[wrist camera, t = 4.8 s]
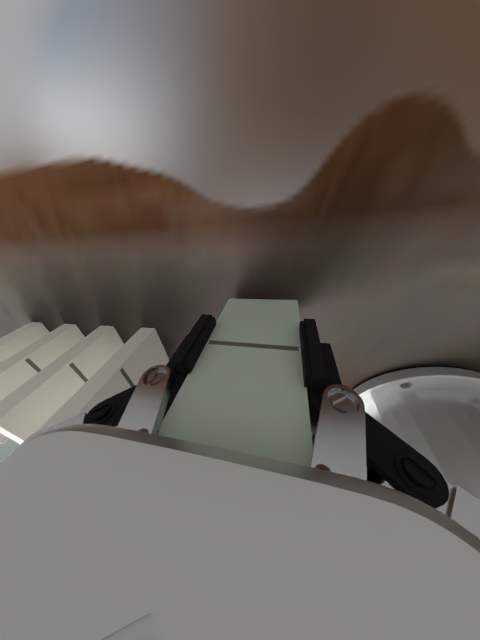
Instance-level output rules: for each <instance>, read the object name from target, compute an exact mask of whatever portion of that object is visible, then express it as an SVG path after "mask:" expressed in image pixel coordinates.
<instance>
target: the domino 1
mask: <svg viewBox="0 0 480 640" xmlns="http://www.w3.org/2000/svg"><path fill="white" fill-rule="evenodd" d="M48 333H50V332H49V331H48V330H47V329H46V327H45V326H44V325H43V324H42V323H41V322H30V323H28V324H26V325H24V326H23V327H21V328H19V329H17V330H15V331H13V332H11V333H9V334H7V335H6V336H4V337H2V338H0V363H1V362H3V361H5V360H6V359H8V358H10V357H11V356H13V355H14V354H16V353H18V352H19V351H21V350H22V349H24V348H26V347H27V346H29V345H31V344H32V343H34V342H35V341H37V340H39V339H40V338H42V337H43V336H45V335H47V334H48Z"/></svg>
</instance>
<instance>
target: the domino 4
mask: <svg viewBox="0 0 480 640" xmlns="http://www.w3.org/2000/svg"><path fill="white" fill-rule="evenodd" d="M168 362H169V358H168V356H167V354H166V351H165V349H164V347H163V345H162V342H161V340H160V338H159V336H158V333H157V331H156V329H155V328H142V327H141V328H140V329H139V330H138V331H137V332H136V333H135V334H134V335H133V336H132V337H131V338H130V339H129V340H128V341H127V342H126V343H125V344H124V345H123V346H122V347H121V348H120V349H119V350H118V351H117V352H116V353H115V354H114V355H113V356H112V357H111V358H110V359H109V360H108V361H107V362H106V363H105V364H104V365H103V366H102V367H101V368H100V369H99V370H98V371H97V372H96V373H95V374H94V375H93V376H92V377H91V378H90V379H89V380H88V381H87V382H86V383H85V384H84V385H83V386H82V387H81V388H80V389H79V390H78V391H77V392H76V393H75V394H74V395H73V396H72V397H71V398H70V399H69V400H68V401H67V402H65V403H64V404H63V405H62V406H61V407H60V408H59V409H58V410H57V411H56V412H55V413H54V414H53V415H52V416H51V417H50V418H49V419H48V420H47V421H46V422H45V423H44V424H43V425H42V426H41V427H40V428H39V429H38V430H37V431H36V432H38V431H40V430H42V429H45V428H47V427H50V426H52V425H55V424H57V423H60V422H62V421H65V420H67V419H69V418H72V417H74V416H77V415H79V414H82V413H84V412H86V413H88V412H89V411H90V410H91V409H92V408H93V407H94V406H95V405H97V404H98V403H100V402H102V401H104V400H106V399H108V398H110V397H112V396H114V395H116V394H118V393H120V392H122V391H125V390H127V389H129V388H131V387H133V386H135V385H137V384H138V382H139V380H140V377H141V376H142V374H143V373H144V372H145V371H146V370H148V369H149V368H151V367H153V366H156V365H167V363H168Z"/></svg>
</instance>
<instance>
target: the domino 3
mask: <svg viewBox="0 0 480 640" xmlns="http://www.w3.org/2000/svg"><path fill="white" fill-rule="evenodd" d="M123 345H124V343H123V341H122V340H121V338H120V336H119V335H118V333H117V331H116V330H115V328H114V327H113V326H99V327H98V328H97V329H95V330H94V331H93V332H91V333H90V334H89V335H87V336H86V337H85V338H83V339H82V340H81V341H79V342H78V343H77V344H76V345H74V346H73V347H72V348H70V349H69V350H68V351H66V352H65V353H64V354H62V355H61V356H60V357H58V358H57V359H56V360H54V361H53V362H52V363H50V364H49V365H48V366H46V367H45V368H44V369H42V370H41V371H40V372H38V373H37V374H36V375H34V376H33V377H32V378H30V379H29V380H28V381H26V382H25V383H24V384H23V385H21V386H20V387H19V388H17V389H16V390H15V391H13V392H12V393H11V394H9V395H8V396H7V397H5V398H4V399H3V400H1V401H0V433H1V434H3V435H5V436H7V437H8V438H10V439H12V440H14V441H16V442H18V443H19V444H22V443H23V442H24V440H26V439H27V438H28V437H30V436H31V435H32V434H34V433H36V431H37V430H38V429H39V428H40V427H41V426H42V425H43V424H44V423H45V422H46V421H47V420H48V419H49V418H50V417H51V416H52V415H53V414H54V413H55V412H56V411H57V410H58V409H59V408H60V407H61V406H62V405H63V404H64V403H65V402H67V401H68V400H69V399H70V398H71V397H72V396H73V395H74V394H75V393H76V392H77V391H78V390H79V389H80V388H81V387H82V386H83V385H84V384H85V383H86V382H87V381H88V380H89V379H90V378H91V377H92V376H93V375H94V374H95V373H96V372H97V371H98V370H99V369H100V368H101V367H102V366H103V365H104V364H105V363H106V362H107V361H108V360H109V359H110V358H111V357H112V356H113V355H114V354H115V353H116V352H117V351H118V350H119V349H120V348H121V347H122V346H123Z"/></svg>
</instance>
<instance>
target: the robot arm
mask: <svg viewBox="0 0 480 640" xmlns="http://www.w3.org/2000/svg"><path fill="white" fill-rule="evenodd" d="M215 326H216V320H215V317H213V316H212V315H204V314H203V315H201V317H200V318H199V320H198V321H197V323H196V324H195V326H194V327H193V328H192V330H191V331H190V333H189V334H188V335H187V336H186V337H185V339H184V340H183V342H182V343H181V345H180V346H179V347H178V349H177V350H176V352H175V353H174V355H173V356H172V358H171V359H170V360H169V362H168V363H167V365H156V366H153V367H151V368H149V369H148V370H146V371H145V372H144V373H143V374H142V376H141V377H140V380H139V382H138V384H137V385H135V386H133V387H131V388H129V389H127V390H125V391H122V392H120V393H118V394H116V395H114V396H112V397H110V398H108V399H106V400H104V401H102V402H100V403H98V404H97V405H95V406H94V407H93V408H92V409H91V410H90V411H89V412H88V413H86V412H84V413H82V414H79V415H77V416H74V417H72V418H69V419H67V420H65V421H62V422H60V423H57V424H55V425H52V426H50V427H47V428H45V429H42V430H40V431H38V432H36V433H34V434H32V435H31V436H30V437H28V438H27V439H26V440H24V442H23V443H22V444H21V445H20V446H19V447H18V448H17V449H15V450H14V451H13V452H12V453H11V454H9V455H8V456H7V457H6V458H5V459H3V460H2V461H1V462H0V640H480V373H479V372H476V371H471V370H466V369H461V368H450V367H419V368H411V369H404V370H399V371H395V372H390V373H386V374H383V375H381V376H378V377H375V378H372V379H370V380H368V381H366V382H364V383H362V384H360V385H359V386H357V387H356V388H355V389H353V390H352V389H351V388H349V387H346V386H344V385H342V384H341V380H340V377H339V373H338V370H337V366H336V363H335V359H334V356H333V352H332V349H331V346H330V344H327V343H320V340H319V335H318V331H317V327H316V322H315V319H304V321H300V324H299V335H300V346H301V357H302V368H303V380H304V387H307V395H308V405H309V414H310V424H311V432H312V443H313V450H312V456H311V462H310V463H311V464H310V467H308V466H303V465H298V464H294V463H289V462H284V461H280V460H275V459H270V458H266V457H261V456H256V455H252V454H247V453H242V452H237V451H233V450H228V449H223V448H218V447H213V446H209V445H204V444H199V443H194V442H189V441H184V440H180V439H175V438H170V437H165V436H160V435H159V434H158V432H159V431H160V428H161V424H162V421H163V419H164V417H165V416H166V414H167V412H168V410H169V408H170V406H171V405H172V403H173V401H174V399H175V397H176V395H177V394H178V392H179V390H180V388H181V386H182V384H183V382H184V381H185V379H186V377H187V375H188V373H189V374H191V372H192V370H193V368H194V366H195V364H196V362H197V360H198V359H199V357H200V355H201V353H202V351H203V349H204V347H205V345H206V343H207V342H208V340H209V338H210V336H211V334H212V332H213V330H214V328H215Z"/></svg>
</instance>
